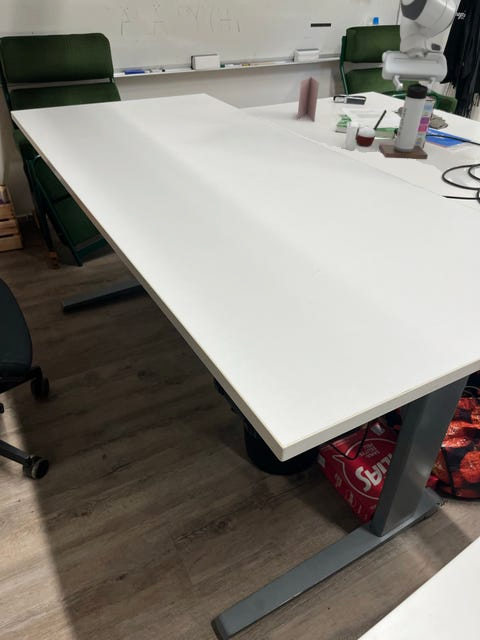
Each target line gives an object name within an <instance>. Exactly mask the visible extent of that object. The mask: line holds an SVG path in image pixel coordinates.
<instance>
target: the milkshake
mask: <svg viewBox="0 0 480 640" xmlns="http://www.w3.org/2000/svg"><path fill="white" fill-rule="evenodd" d="M360 128H362V125H361V124H360V123H359V122H358V121H350V120H348V122H347V123H346V135H345V146H344V150H345V149H346V150H345V151H347V150H349V151H348V152H354V151H355V148H356V145H357V143H356V142H357V137H358V134H359V130H360ZM353 150H354V151H353Z"/></svg>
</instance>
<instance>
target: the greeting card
mask: <svg viewBox="0 0 480 640" xmlns="http://www.w3.org/2000/svg"><path fill="white" fill-rule="evenodd" d="M319 85H320V82H319V81H317V80H316V79H315V78H313V77H312V76H309V77H308V78H306V79H304V80H302V81H300V86H299V87H300V89H299V99H298V109H297V116H296V117H297V120H298V119H299V120H300V118H301V117H302V118H304V117H305V116H308V117H309V119H310V120H311V121H313V122H315V119H316V112H317V111H316V110H317V103H318V93H319V88H320V87H319ZM306 114H307V115H306ZM303 116H304V117H303ZM302 118H301V119H302ZM297 120H296V121H297ZM299 120H298V121H299Z"/></svg>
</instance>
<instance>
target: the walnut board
mask: <svg viewBox="0 0 480 640" xmlns="http://www.w3.org/2000/svg"><path fill="white" fill-rule="evenodd" d="M394 146H395V144H384V143H383V144H379V145H378V149H379V152H381V154H382V155H383V157H384V158H385V159H386V158H387V159H407V160H408V159H411V160H427V159H428V155H429V154H428V153H426V152H425V150H424V148H423V149H422V148H421V147H420V146H414V148H413V151H411V152H400V151H397V150H395V149H394Z"/></svg>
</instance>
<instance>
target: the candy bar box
mask: <svg viewBox="0 0 480 640" xmlns="http://www.w3.org/2000/svg"><path fill="white" fill-rule="evenodd" d="M436 102H437V100H436V99H434V98H432V97H431V96H428V95H426V100H425V104H424V108H423V112H422V116H421V120H420V124H419V128H418V132H417V136H416V140H415V144H414V146H420V147H421V148H422V149H423V150H424V147H425V144H426V140H427V136H428V133H429V129H430V125H431V121H432V117H433V114H434V110H435V107H436Z"/></svg>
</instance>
